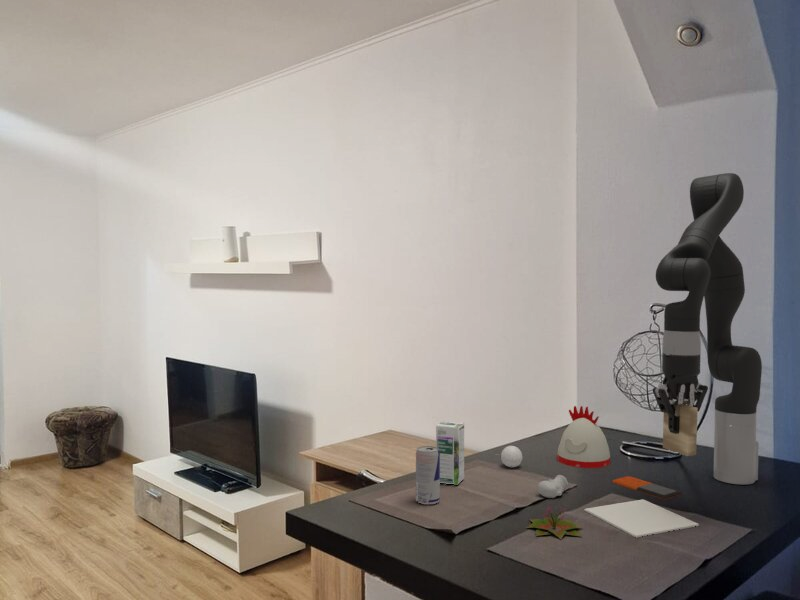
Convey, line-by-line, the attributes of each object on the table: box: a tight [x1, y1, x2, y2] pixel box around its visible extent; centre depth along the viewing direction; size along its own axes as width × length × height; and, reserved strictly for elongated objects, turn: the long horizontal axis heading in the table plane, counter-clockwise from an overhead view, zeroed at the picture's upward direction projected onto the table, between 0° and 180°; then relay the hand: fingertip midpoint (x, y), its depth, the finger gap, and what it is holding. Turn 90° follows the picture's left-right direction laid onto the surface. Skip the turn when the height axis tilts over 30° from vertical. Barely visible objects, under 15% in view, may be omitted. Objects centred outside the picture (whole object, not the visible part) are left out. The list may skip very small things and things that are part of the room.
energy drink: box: [415, 445, 441, 504], centre depth 151 cm, size 5×5×12 cm
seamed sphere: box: [496, 445, 523, 469], centre depth 179 cm, size 8×6×6 cm
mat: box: [583, 499, 700, 539], centre depth 141 cm, size 16×16×1 cm
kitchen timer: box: [557, 405, 611, 469], centre depth 184 cm, size 14×14×15 cm
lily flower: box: [525, 506, 584, 540], centre depth 135 cm, size 12×12×5 cm
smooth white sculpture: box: [537, 474, 569, 499], centre depth 156 cm, size 4×8×5 cm
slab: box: [662, 404, 698, 457], centre depth 144 cm, size 3×7×10 cm, turn 22°
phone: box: [611, 475, 682, 500], centre depth 161 cm, size 6×1×15 cm
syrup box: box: [435, 420, 465, 486], centre depth 165 cm, size 6×6×14 cm
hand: (679, 431), depth 144 cm, fingers closed on slab, 2 cm apart
